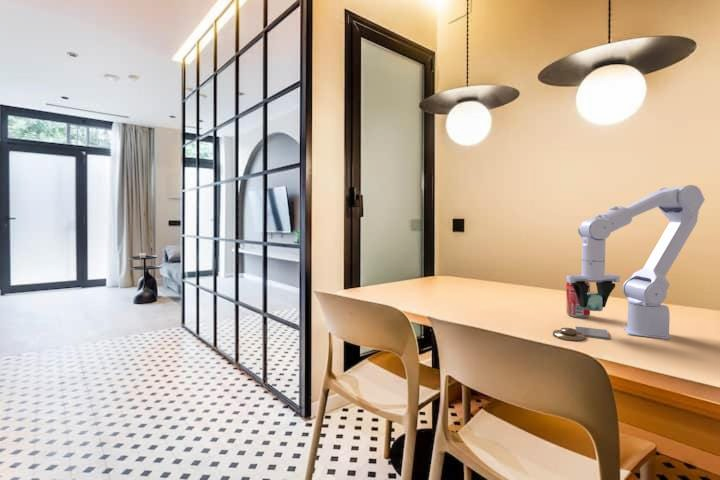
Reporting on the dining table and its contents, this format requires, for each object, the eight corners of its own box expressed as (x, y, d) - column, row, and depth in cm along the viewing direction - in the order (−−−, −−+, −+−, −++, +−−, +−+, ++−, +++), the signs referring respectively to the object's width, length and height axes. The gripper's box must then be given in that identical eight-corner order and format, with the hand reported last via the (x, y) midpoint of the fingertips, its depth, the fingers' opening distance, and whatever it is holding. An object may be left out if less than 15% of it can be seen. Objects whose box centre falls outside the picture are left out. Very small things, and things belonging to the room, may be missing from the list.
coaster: (606, 331, 109) (606, 329, 109) (609, 339, 102) (609, 337, 102) (575, 328, 113) (575, 326, 113) (576, 335, 106) (576, 333, 106)
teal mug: (608, 311, 104) (608, 295, 104) (590, 311, 104) (590, 296, 104) (593, 306, 111) (594, 291, 110) (577, 306, 111) (577, 291, 110)
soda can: (593, 319, 123) (594, 280, 123) (570, 318, 125) (570, 280, 124) (585, 313, 130) (585, 277, 130) (563, 312, 132) (563, 277, 131)
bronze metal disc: (584, 334, 107) (584, 327, 107) (585, 342, 100) (585, 335, 100) (553, 330, 111) (553, 324, 111) (552, 338, 104) (552, 331, 104)
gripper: (608, 258, 111) (607, 303, 112) (560, 259, 111) (560, 303, 111) (625, 261, 104) (624, 308, 104) (574, 262, 104) (573, 309, 104)
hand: (592, 306), depth 107 cm, fingers closed on teal mug, 5 cm apart
